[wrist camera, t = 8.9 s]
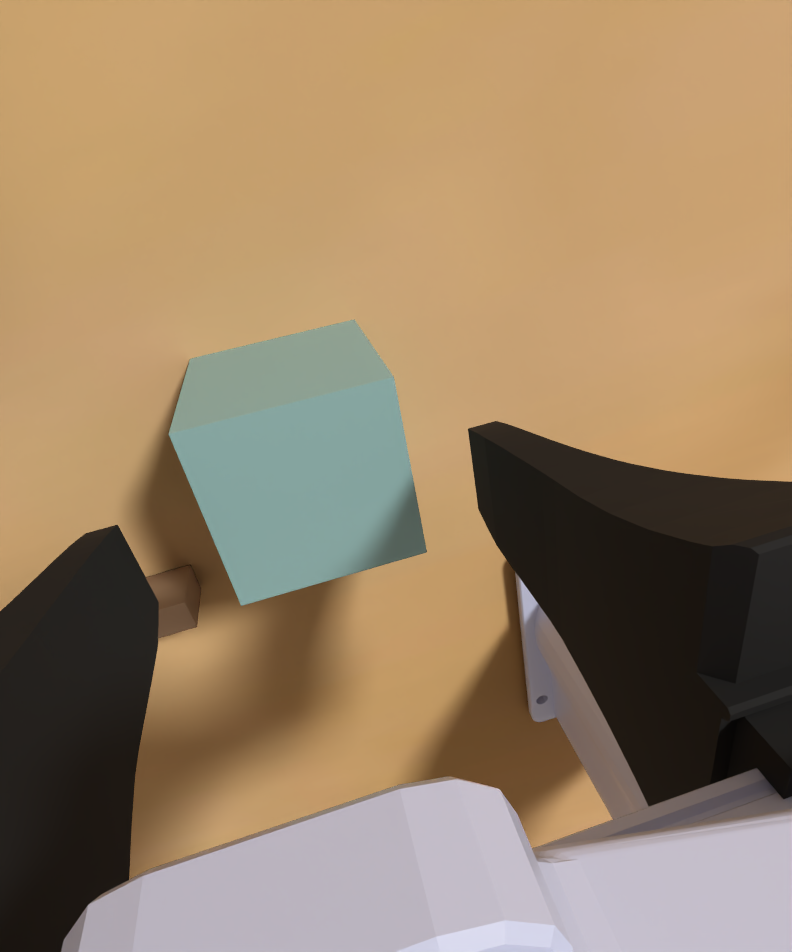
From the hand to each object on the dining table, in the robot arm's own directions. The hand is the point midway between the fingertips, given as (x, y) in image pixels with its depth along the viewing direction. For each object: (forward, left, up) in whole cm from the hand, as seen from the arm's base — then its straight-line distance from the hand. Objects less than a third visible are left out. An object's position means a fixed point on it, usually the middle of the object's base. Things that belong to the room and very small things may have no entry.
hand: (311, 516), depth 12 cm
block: (0, 0, -6) cm, 6 cm away
